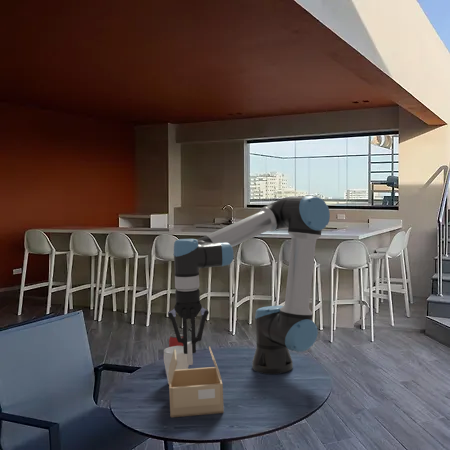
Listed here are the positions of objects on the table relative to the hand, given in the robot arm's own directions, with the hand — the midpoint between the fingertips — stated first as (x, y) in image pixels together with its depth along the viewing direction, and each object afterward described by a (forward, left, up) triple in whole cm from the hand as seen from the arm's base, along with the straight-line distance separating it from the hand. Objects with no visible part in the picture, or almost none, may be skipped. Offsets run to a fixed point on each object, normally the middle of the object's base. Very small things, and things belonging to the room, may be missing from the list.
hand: (190, 363), depth 159 cm
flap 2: (-9, 0, -4) cm, 10 cm away
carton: (-1, 0, -14) cm, 14 cm away
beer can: (+3, -39, -14) cm, 42 cm away
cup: (+4, -20, -14) cm, 25 cm away
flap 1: (+6, 0, -4) cm, 7 cm away
